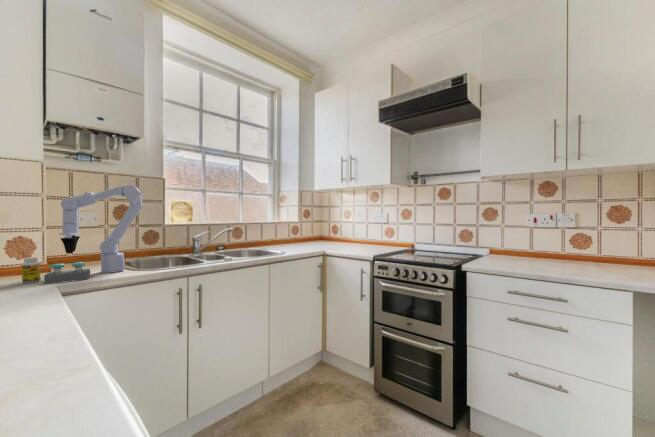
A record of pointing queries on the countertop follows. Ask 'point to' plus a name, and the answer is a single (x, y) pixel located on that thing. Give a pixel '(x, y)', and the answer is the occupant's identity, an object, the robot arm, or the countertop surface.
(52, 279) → the panel box
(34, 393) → the countertop surface
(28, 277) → the supplement bottle
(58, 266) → the knob
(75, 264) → the knob
